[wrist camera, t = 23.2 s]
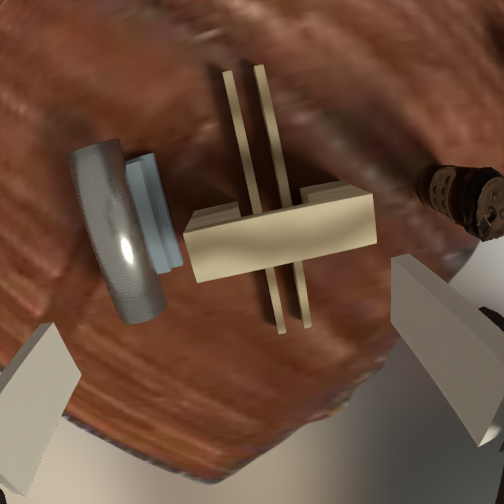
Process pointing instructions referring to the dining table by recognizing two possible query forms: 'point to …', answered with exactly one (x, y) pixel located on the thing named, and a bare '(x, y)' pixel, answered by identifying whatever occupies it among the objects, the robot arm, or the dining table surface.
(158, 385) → the dining table surface
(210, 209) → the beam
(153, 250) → the v block
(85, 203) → the axle
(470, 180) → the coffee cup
